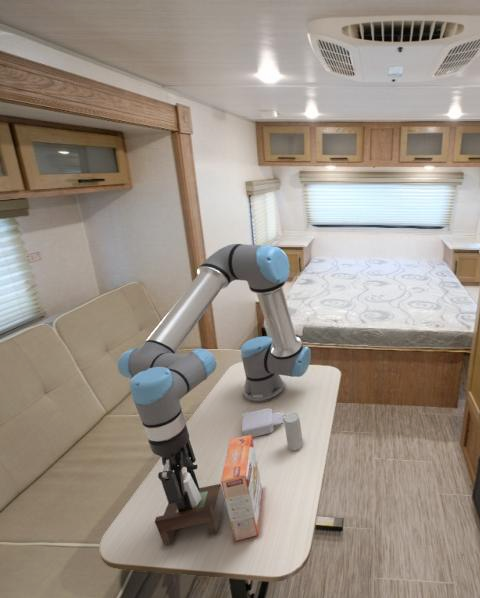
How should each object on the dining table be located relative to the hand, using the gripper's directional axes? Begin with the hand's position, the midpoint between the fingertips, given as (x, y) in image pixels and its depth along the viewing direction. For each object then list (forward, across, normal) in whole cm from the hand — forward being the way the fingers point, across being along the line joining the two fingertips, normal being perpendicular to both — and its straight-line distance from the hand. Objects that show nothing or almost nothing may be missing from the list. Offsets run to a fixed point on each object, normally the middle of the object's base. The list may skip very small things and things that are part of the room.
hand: (190, 501), depth 87 cm
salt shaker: (0, 0, 0) cm, 1 cm away
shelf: (+7, 0, 0) cm, 7 cm away
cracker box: (+8, +1, +14) cm, 16 cm away
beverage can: (+8, -20, +25) cm, 33 cm away
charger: (+8, -32, +15) cm, 36 cm away
